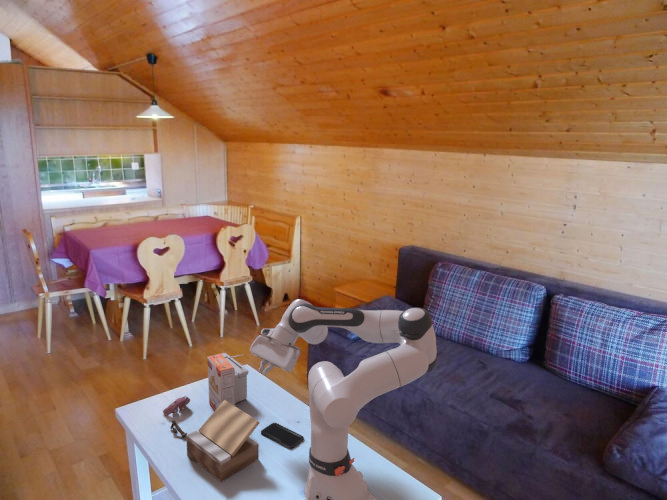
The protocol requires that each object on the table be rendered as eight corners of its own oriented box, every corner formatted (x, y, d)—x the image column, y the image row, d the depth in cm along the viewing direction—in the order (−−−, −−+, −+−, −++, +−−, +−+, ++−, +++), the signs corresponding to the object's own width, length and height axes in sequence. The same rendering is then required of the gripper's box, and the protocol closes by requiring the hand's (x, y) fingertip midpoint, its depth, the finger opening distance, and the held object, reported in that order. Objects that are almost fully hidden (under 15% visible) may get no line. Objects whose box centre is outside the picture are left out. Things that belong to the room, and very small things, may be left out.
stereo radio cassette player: (208, 385, 207) (206, 341, 202) (225, 379, 212) (224, 337, 208) (231, 406, 192) (231, 360, 187) (250, 400, 197) (249, 354, 192)
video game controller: (168, 421, 183) (173, 409, 180) (161, 413, 185) (166, 401, 182) (188, 409, 192) (193, 397, 188) (181, 401, 193) (186, 389, 190)
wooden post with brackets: (171, 425, 177) (174, 416, 175) (184, 440, 174) (187, 432, 172) (167, 427, 176) (170, 419, 174) (180, 443, 172) (183, 435, 170)
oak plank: (259, 422, 160) (257, 420, 159) (233, 456, 153) (230, 454, 152) (226, 402, 171) (224, 399, 170) (200, 432, 165) (198, 430, 164)
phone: (274, 421, 182) (305, 437, 173) (274, 424, 182) (305, 439, 173) (259, 431, 175) (290, 448, 167) (259, 434, 176) (290, 451, 167)
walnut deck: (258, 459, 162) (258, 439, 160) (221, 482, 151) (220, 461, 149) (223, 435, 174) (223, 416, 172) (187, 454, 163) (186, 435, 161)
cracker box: (208, 403, 193) (206, 355, 188) (222, 399, 196) (221, 352, 191) (220, 421, 182) (219, 370, 177) (236, 417, 185) (235, 367, 180)
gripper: (307, 352, 170) (286, 387, 165) (268, 335, 183) (248, 367, 178) (298, 344, 166) (276, 380, 161) (259, 327, 179) (238, 360, 174)
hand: (261, 373), depth 170 cm, fingers closed
